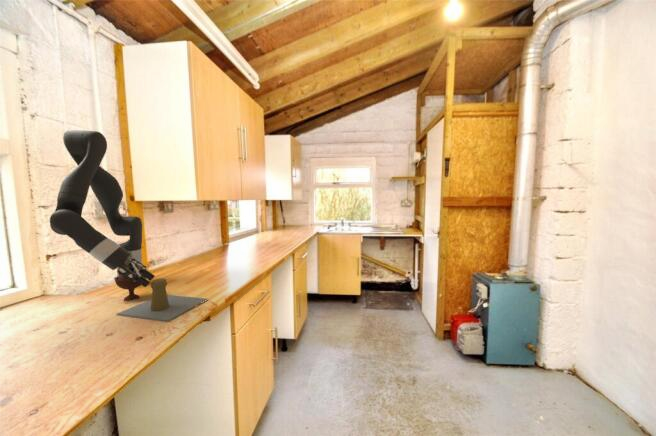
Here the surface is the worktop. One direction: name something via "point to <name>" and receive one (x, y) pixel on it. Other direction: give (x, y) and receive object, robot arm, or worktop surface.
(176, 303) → the charcoal mat
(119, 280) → the ice cream bowl
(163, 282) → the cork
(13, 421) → the worktop surface
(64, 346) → the worktop surface
